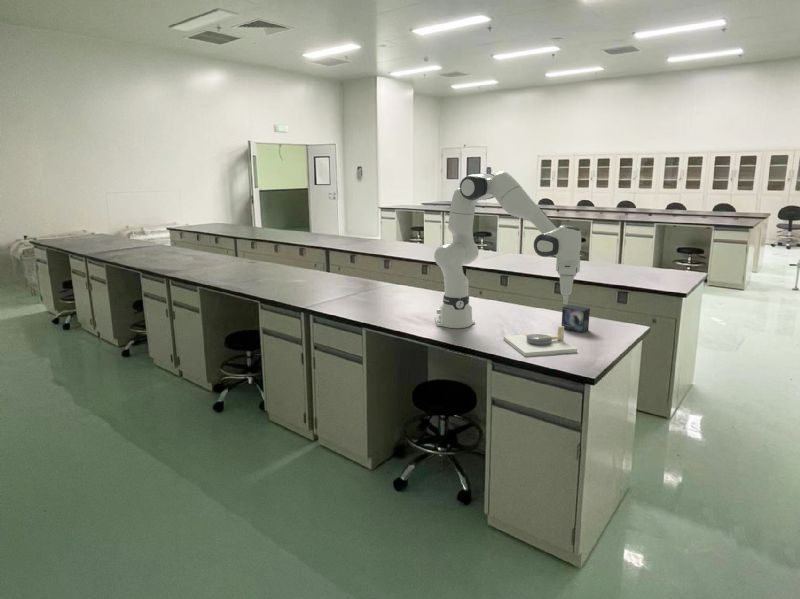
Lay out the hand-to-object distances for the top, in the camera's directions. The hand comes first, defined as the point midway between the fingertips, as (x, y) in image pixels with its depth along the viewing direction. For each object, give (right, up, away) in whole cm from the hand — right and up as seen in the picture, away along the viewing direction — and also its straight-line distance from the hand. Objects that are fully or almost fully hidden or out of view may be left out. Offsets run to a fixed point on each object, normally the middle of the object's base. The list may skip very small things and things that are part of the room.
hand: (565, 301), depth 206 cm
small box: (+13, -13, +29) cm, 35 cm away
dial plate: (-9, -18, +8) cm, 22 cm away
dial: (-6, -16, +8) cm, 19 cm away
